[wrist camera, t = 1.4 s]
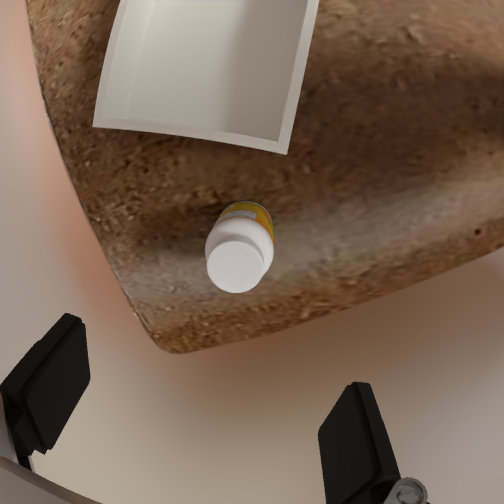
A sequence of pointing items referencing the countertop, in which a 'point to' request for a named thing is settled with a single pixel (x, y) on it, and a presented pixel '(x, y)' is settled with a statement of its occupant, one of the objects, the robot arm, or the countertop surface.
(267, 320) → the countertop surface
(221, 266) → the supplement bottle
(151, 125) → the tote
